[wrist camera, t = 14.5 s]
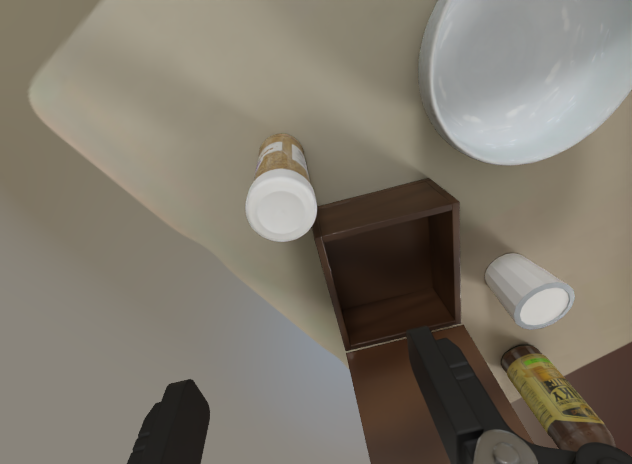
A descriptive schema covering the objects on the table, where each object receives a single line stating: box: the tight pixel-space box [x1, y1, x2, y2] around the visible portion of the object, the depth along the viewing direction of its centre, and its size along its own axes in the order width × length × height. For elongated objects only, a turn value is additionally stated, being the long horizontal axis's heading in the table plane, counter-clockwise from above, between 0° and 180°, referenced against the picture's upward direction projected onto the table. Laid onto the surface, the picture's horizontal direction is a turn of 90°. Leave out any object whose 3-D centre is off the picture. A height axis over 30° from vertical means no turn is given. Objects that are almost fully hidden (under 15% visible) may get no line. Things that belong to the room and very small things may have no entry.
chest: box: [312, 178, 461, 351], centre depth 35 cm, size 15×13×7 cm
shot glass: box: [485, 253, 575, 330], centre depth 38 cm, size 7×7×7 cm
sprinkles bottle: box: [245, 134, 317, 242], centre depth 25 cm, size 5×5×13 cm
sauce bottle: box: [501, 345, 616, 452], centre depth 41 cm, size 6×6×20 cm
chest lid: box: [346, 325, 534, 464], centre depth 29 cm, size 16×13×1 cm
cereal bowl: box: [418, 0, 632, 165], centre depth 26 cm, size 17×17×7 cm
